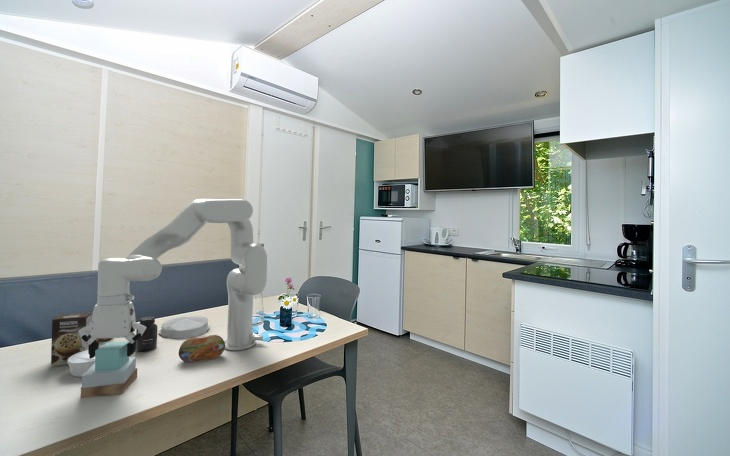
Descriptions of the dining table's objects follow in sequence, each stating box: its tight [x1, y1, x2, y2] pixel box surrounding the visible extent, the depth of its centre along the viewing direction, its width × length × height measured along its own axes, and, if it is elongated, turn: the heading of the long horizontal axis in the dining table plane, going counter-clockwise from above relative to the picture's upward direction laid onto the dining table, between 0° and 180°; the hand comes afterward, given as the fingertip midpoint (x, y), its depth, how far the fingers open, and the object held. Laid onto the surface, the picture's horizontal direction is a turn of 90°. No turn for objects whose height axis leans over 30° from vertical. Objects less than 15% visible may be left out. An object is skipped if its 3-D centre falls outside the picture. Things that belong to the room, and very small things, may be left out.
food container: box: [158, 315, 210, 340], centre depth 143 cm, size 20×20×7 cm
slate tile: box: [81, 356, 137, 388], centre depth 95 cm, size 10×10×4 cm
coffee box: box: [50, 312, 93, 367], centre depth 110 cm, size 9×6×16 cm
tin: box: [178, 334, 226, 364], centre depth 116 cm, size 15×3×8 cm, turn 119°
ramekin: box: [67, 350, 95, 378], centre depth 104 cm, size 11×11×5 cm
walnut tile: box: [80, 367, 138, 399], centre depth 95 cm, size 10×10×4 cm
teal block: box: [95, 341, 129, 371], centre depth 95 cm, size 6×6×6 cm
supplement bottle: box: [135, 315, 159, 353], centre depth 122 cm, size 7×7×12 cm
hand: (112, 355), depth 95 cm, fingers open, 9 cm apart
